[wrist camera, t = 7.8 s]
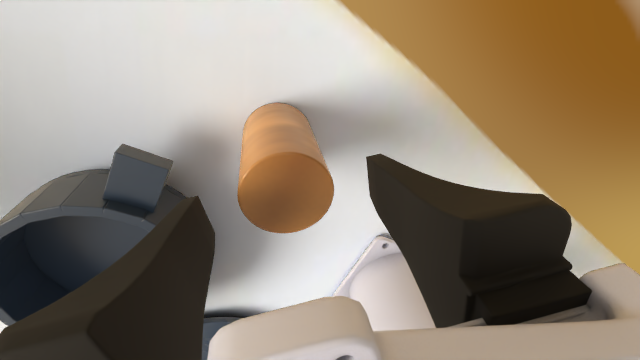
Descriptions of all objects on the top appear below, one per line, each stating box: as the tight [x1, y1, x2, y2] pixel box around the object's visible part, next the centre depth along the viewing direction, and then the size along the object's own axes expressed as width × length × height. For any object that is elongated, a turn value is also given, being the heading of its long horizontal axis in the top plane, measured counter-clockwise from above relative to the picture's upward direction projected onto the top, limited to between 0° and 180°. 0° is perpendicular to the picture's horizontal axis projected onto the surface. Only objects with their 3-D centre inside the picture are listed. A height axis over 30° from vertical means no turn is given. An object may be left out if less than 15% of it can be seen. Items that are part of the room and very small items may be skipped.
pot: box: [0, 144, 208, 326], centre depth 19 cm, size 11×17×4 cm
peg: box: [237, 103, 334, 233], centre depth 16 cm, size 4×4×7 cm
